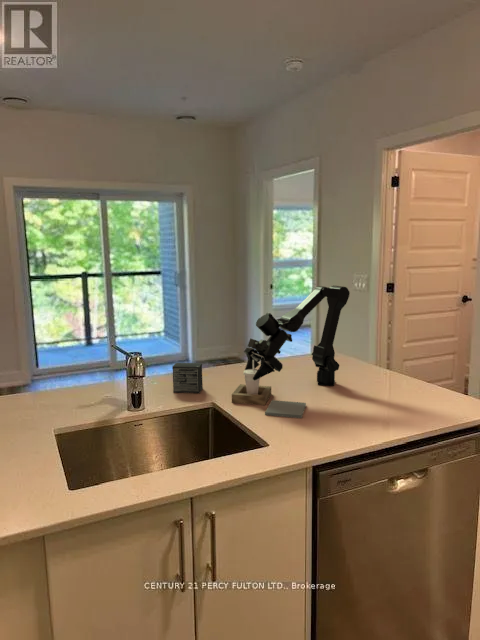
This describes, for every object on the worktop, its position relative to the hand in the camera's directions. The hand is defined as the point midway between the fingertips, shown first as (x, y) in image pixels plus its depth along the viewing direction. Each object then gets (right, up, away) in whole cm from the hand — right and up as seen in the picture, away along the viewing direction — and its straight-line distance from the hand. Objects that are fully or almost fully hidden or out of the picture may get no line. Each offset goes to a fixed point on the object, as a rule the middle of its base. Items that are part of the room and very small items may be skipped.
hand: (248, 377), depth 166 cm
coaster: (+12, -10, -10) cm, 19 cm away
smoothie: (+1, -8, +2) cm, 8 cm away
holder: (+1, -8, +2) cm, 8 cm away
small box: (-23, -7, +12) cm, 27 cm away
